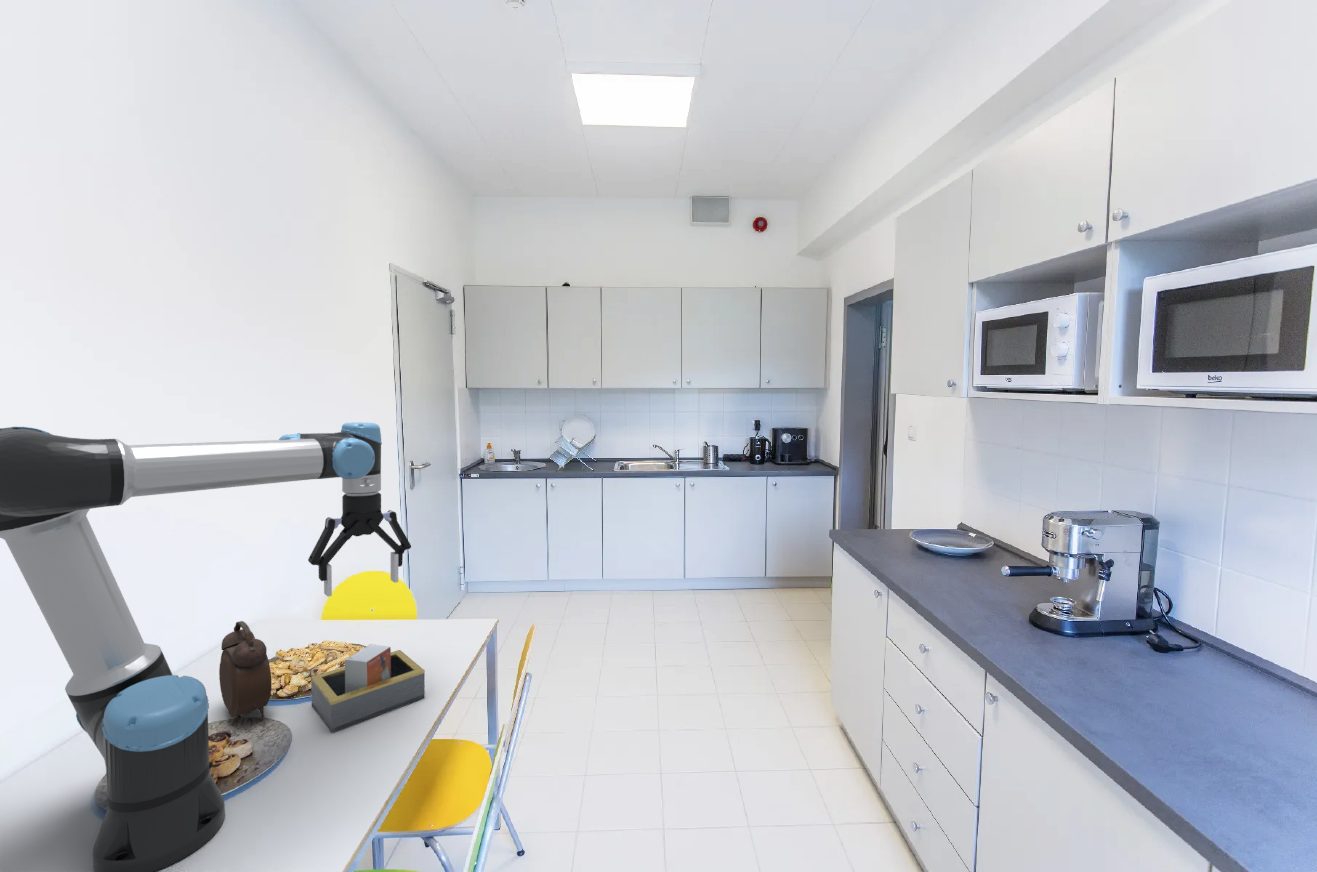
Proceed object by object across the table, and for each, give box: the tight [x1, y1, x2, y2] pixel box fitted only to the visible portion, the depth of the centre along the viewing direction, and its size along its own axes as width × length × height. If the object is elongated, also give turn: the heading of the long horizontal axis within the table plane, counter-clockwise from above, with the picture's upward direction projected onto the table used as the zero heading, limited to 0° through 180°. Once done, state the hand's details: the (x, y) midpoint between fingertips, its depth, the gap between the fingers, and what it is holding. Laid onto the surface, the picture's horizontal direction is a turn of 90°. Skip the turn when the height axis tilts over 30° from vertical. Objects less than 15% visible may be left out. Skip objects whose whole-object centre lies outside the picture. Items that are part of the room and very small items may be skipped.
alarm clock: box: [218, 620, 273, 725], centre depth 117 cm, size 14×7×20 cm, turn 50°
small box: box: [344, 643, 392, 694], centre depth 123 cm, size 8×6×10 cm
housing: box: [310, 649, 426, 734], centre depth 124 cm, size 19×14×7 cm
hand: (362, 587), depth 122 cm, fingers open, 13 cm apart
